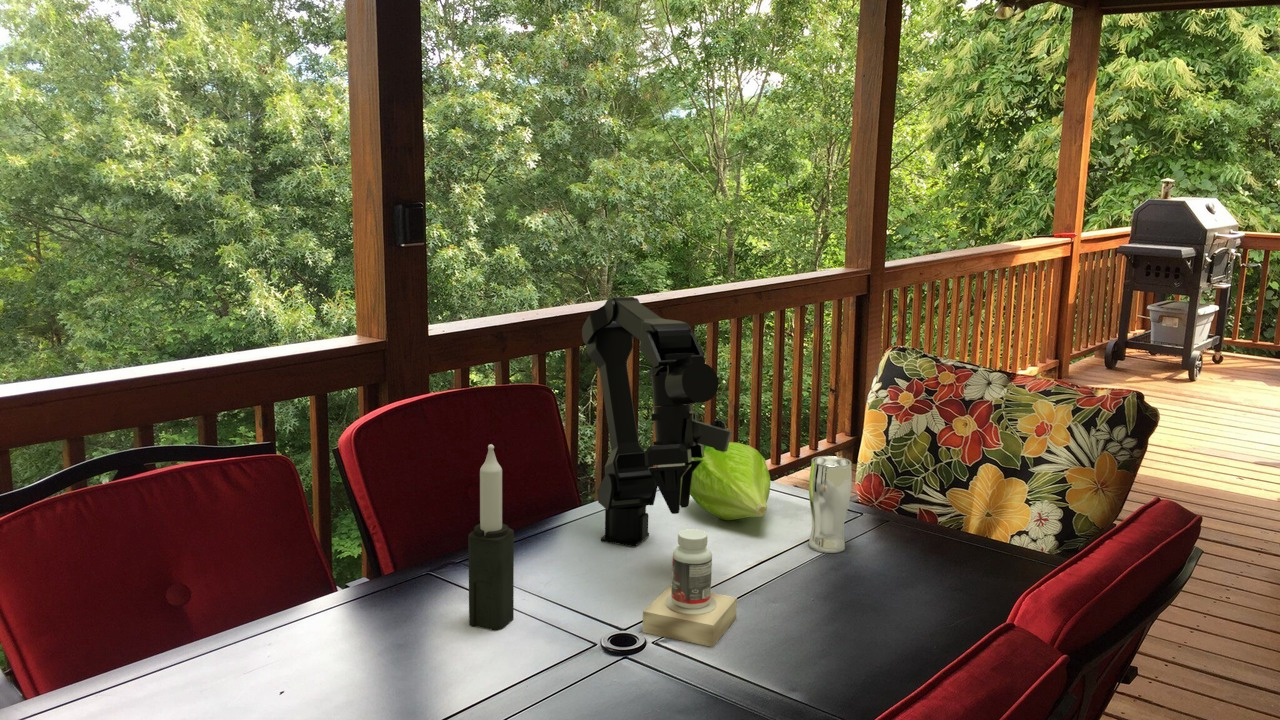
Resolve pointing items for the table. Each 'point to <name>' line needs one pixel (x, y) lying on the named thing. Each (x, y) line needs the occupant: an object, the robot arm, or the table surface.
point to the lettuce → (732, 482)
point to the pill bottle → (691, 570)
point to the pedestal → (690, 619)
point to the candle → (491, 555)
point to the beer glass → (829, 502)
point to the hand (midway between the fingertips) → (680, 510)
